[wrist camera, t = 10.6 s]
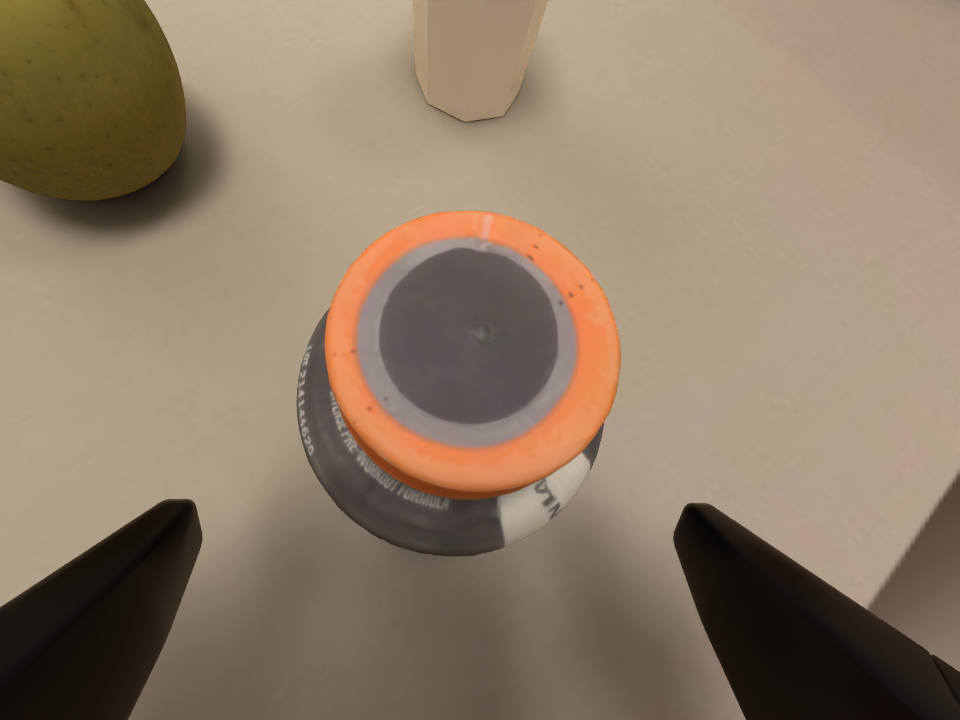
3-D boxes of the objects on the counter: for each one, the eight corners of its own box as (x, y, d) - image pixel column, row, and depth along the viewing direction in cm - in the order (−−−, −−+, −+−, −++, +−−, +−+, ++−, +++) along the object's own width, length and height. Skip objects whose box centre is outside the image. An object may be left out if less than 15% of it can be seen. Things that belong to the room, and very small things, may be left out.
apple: (184, 259, 17) (37, 100, 10) (-42, 213, 16) (-360, 9, 10) (247, 112, 20) (162, -94, 13) (54, 66, 19) (-144, -177, 12)
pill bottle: (537, 495, 16) (778, 478, 6) (379, 560, 15) (301, 701, 4) (481, 349, 18) (588, 116, 7) (332, 395, 16) (184, 190, 6)
